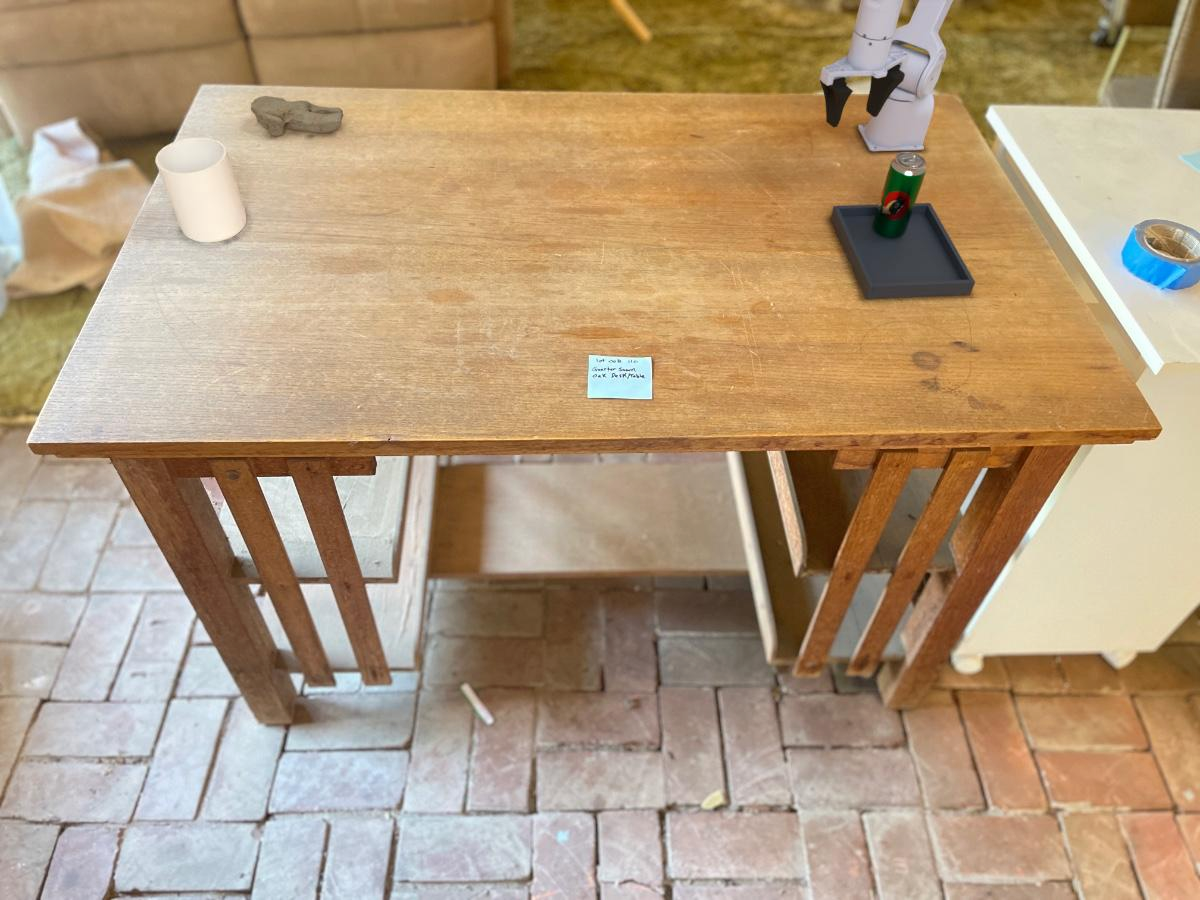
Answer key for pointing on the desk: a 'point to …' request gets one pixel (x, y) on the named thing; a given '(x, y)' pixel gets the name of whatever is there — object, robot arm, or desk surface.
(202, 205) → the mug
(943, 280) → the dark grey tray
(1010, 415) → the desk surface
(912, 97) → the robot arm
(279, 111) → the sculpture
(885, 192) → the soda can
